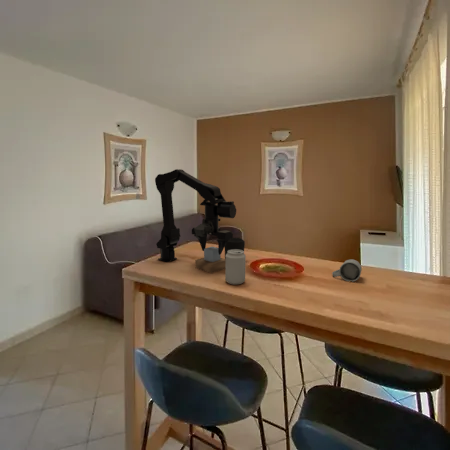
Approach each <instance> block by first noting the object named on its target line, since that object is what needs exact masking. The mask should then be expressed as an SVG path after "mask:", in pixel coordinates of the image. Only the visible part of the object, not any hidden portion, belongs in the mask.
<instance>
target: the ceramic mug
mask: <svg viewBox="0 0 450 450" xmlns="http://www.w3.org/2000/svg"><path fill="white" fill-rule="evenodd" d="M362 271H363V269H362V265H361V264H360V262H359V261H358V260H355V259H346V260H345V261H344V262H343V263H342V264H341V265H340V266H339V268H338V269H336V270H334V271H332V272H331V274H332V276H333V277H334V278H335V277H337V278H338V277H340V278H341V279H342V280H344V281H345V282H349V281H352V283H353V282H356V281H357V280H359V279H360V277H361V274H362Z"/></svg>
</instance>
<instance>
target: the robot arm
mask: <svg viewBox="0 0 450 450" xmlns="http://www.w3.org/2000/svg"><path fill="white" fill-rule="evenodd" d="M154 181H155V187H156V190H157V191H158V193H159V195H160V201H161V202H160V203H161V213H162V221H163V222H162V223H163V227H162V229H161V231H160V239H159V240H158V241H156V248H157V249H159V250H160V251H159V252H160V257H159V258H157V261H162V262H166V263H168V262H172V261H175V260H177V259H178V258H177V257H176V255H175V247H176V246H177V245H178V242H179V241H180V237H181V230H180V228H179V227H178V228H177V226H176V225H175V216H174V205H173V204H174V203H173V196H172V194H173V191H174V190H175V183H177V182H179V181H180V182H181V183H183V184H185V185H186V186H188V187H189V188H192V189H193V190H195V191H196V192H197V193H198V194H199V196H200V197H201V198H203V201H202V202H201V203H199V205H200V206H204V218H202V221H201V223H200V224H198V225H197V226H195V227H192V229H191V235H193V237H195V238H197V240H198V242H199V244H200V247H201V251H203V252H204V249H205V248H207V247H206V246H207V239H208V235H209V236H216V238H217V239H216V241H217V244H218V247H217V248H218V252H219V255H220V254H222V253H223V252H224V250H225V245H226V243H227V241H228V240H230V238H234V236H233V235H234V233H233V232H232V231H231V230H226V229H225V230H221V228H220V227H219V222H221V218H226V219H234V218H236V214H237V207H236V205H235V204H234V203H235V202H234V201H232V200H230V201H227V200H226V199H225V198H224V196H223V194H222V193H221V189H220V187H219V186H217V185H213V184H212V183H211V184H210V183H206V182H203V181H201V180H200V179H198V178H197V177H195V176H193V175H191V174H189V173H188V172H186V171H185V170H184V169H182V168H181V169H178V168H177V169H174V170H172V171H169V172H165V173H162V174H161V173H159V174H157V175H156V176H155V179H154Z"/></svg>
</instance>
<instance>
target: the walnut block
mask: <svg viewBox="0 0 450 450" xmlns="http://www.w3.org/2000/svg"><path fill="white" fill-rule="evenodd" d="M194 260H195V264H194V266H195V269H197V270H200V271H202V272H203V271H204V272H207V273H210V274H213V273H218V272H221V271H223V270H225V269H226V259H225V258H222V257H221V260H218V261H215V262H210V261H206V260H204V257H202V258H197V259H194Z"/></svg>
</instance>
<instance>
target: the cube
mask: <svg viewBox="0 0 450 450" xmlns="http://www.w3.org/2000/svg"><path fill="white" fill-rule="evenodd" d="M221 254H222V253H221ZM221 254H220V255H219V252H218V247H215V246H209V247H205V249H204V251H203V258H204V260H206V261H210V262H215V261H218V260H221V258H222V257H221V256H222V255H221Z"/></svg>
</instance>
